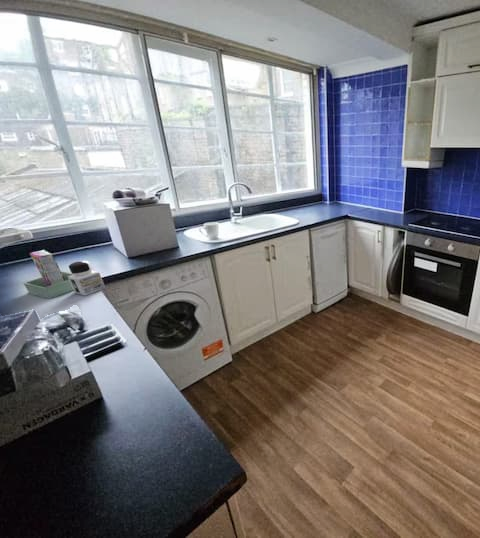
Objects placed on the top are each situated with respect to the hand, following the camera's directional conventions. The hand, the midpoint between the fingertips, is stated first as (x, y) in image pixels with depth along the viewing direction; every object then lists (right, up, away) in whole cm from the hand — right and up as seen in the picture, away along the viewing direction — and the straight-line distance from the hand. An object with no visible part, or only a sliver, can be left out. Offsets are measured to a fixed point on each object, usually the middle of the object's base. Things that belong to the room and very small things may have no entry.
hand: (8, 241), depth 130 cm
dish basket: (+23, -21, -1) cm, 31 cm away
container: (+39, -22, -3) cm, 45 cm away
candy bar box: (+23, -21, -1) cm, 31 cm away
